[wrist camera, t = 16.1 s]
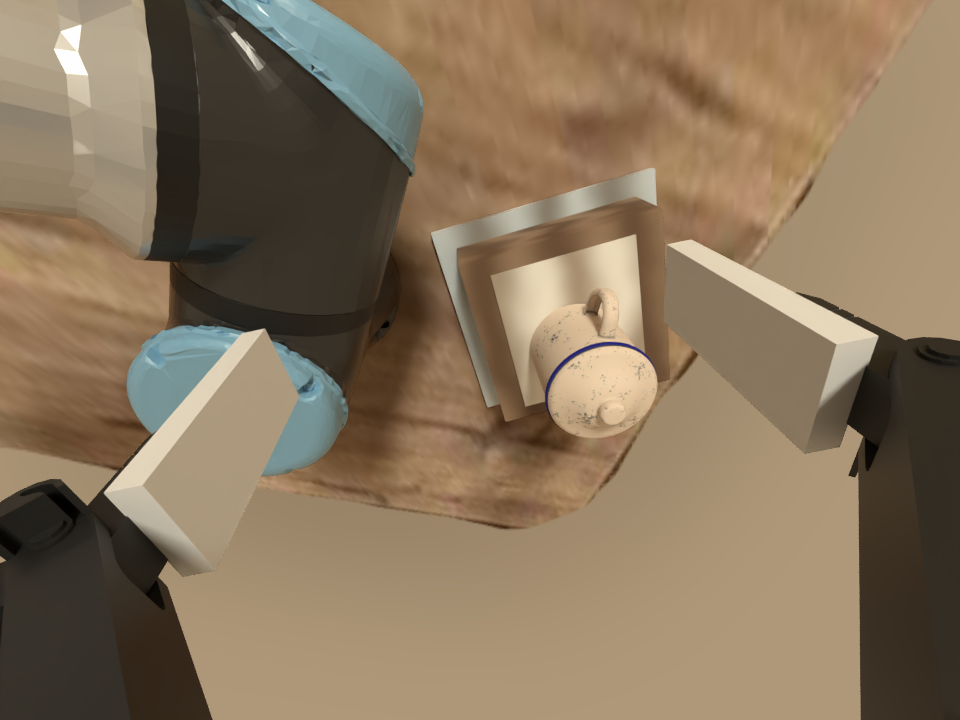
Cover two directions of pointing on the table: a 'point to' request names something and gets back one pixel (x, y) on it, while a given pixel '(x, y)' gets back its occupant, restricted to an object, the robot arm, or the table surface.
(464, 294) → the plinth
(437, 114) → the table surface
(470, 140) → the table surface
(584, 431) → the teacup with lid
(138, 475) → the robot arm
